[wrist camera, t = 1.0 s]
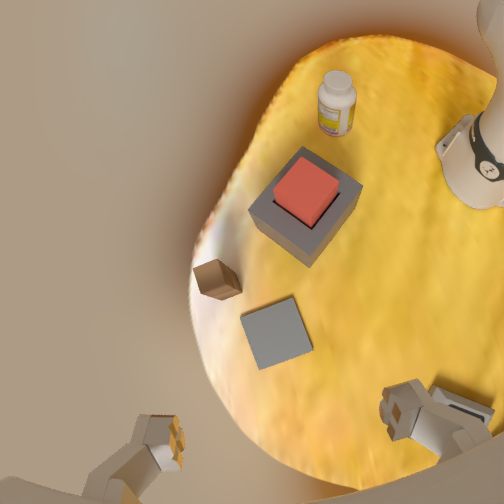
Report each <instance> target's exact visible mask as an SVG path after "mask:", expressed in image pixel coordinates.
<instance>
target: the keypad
mask: <svg viewBox="0 0 504 504" xmlns="http://www.w3.org/2000/svg"><path fill="white" fill-rule="evenodd" d="M428 393H429V394H430V396H431V397H432V399H433V400H434V402H440V403H443V404H445V405H447V406H450V407H452V408H454V409H457V410H459V411H462V412H464V413H466V414H469V415H471V416H474V417H476V418H479V419H481V421H482V422H483V423H484V425H485V426H486V427H487V426H488V424H489V422H490V420H491V418H492V416H493V414H494V412H495V410H494V409H492V408H489V407H487V406H484V405H481V404H479V403H476V402H474V401H471V400H469V399H466V398H464V397H461V396H459V395H457V394H454V393H452V392H449V391H447V390H444V389H442V388H440V387H437V386H435V385H433V384H432V386H431V388H430V390H429V392H428ZM408 438H410V439H413V438H411V436H410V437H408ZM413 440H414V439H413ZM415 441H416V440H415Z"/></svg>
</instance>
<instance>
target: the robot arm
mask: <svg viewBox="0 0 504 504" xmlns="http://www.w3.org/2000/svg"><path fill="white" fill-rule="evenodd" d="M476 17H477V25H478V29H479V32H480V35H481V37H482V40H483V41H484V43H485V44H486V46H487V48H488V49H489V51H490V53H491V55H492V58H493V61H494V64H495V68H496V73H497V84H496V89H495V92H494V94H493V96H492V98H491V100H490V102H489V104H488V106H487V108H486V109H485V111H483V112H479V113H478V114H477V115H476V116H473V115H469V114H468V115H466V116H465V115H464V117H463V118H462V119H461V121H460V122H459V123H458V124H457V125H456V126H455V127H454V128H453V129H452V130H451V131H450V132H449V133H448V134H447V135H446V136H445V137H444V138H443V139H442V140H441V141H440V142H439V143H438V144H437V145H436V147H435V150H436V153H437V155H438V156H439V158H440V160H441V163H442V169H443V174H444V177H445V180H446V182H447V184H448V186H449V187H450V189H451V191H452V192H453V193H454V194H455V195H456V197H457V198H458V199H460V200H461V201H462V202H463V203H465V204H466V205H468V206H470V207H472V208H475V209H488V208H491V207H493V206H498V207H504V0H480V1H479V4H478V7H477V15H476ZM443 145H444V146H445V147H444V146H443ZM382 396H383V398H384V399H383V400H382V401H381V402H380V406H379V412H380V417H381V420H382V422H383V423H384V424H386V425H388V427H387V432H388V434H389V436H390V438H391V440H392V442H393V441H396V440H400V439H403V438H406V437H410V436H411V438H413V439H414V440H416V441H417V442H419V443H420V444H422V445H423V446H425V447H426V448H428V449H429V450H431V451H432V452H434V453H436V454H437V455H439V456H440V459H439V461H438V462H437V464H436V465H435V466H433V467H430V468H428V469H425V470H423V471H420V472H417V473H415V474H412V475H409V476H406V477H403V478H401V479H398V480H395V481H392V482H388V483H385V484H382V485H379V486H375V487H372V488H368V489H365V490H361V491H357V492H353V493H350V494H345V495H341V496H336V497H331V498H327V499H322V500H317V501H311V502H305V503H299V504H504V431H503V432H502V433H500V434H498V435H496V436H495V437H493V436H492V434H491V433H490V432H489V430H488V429H487V427H486V426H485V425H484V423H483V422H482V421H481V419H479V418H476V417H474V416H471V415H469V414H466V413H464V412H462V411H459V410H457V409H454V408H452V407H450V406H447V405H445V404H443V403H440V402H434V400H433V399H432V397H431V396H430V394H429V393H428V392H427V390H426V389H425V387H424V386H423V385H422V383H421V382H420V381H419V379H414V380H410V381H407V382H403V383H400V384H396V385H392V386H389V387H385V388H384V389H383V392H382ZM184 447H185V438H184V433H183V430H182V428H181V427H179V420H178V417H177V416H176V415H142V414H140V415H139V416H138V418H137V421H136V425H135V428H134V431H133V435H132V438H131V442H130V444H126V445H125V446H123V447H122V448H121V449H119V450H118V451H117V452H116V453H114V454H113V455H112V456H111V457H110V458H108V459H107V460H106V461H105V462H103V463H102V464H101V465H99V466H98V467H97V468H96V469H94V470H93V471H92V472H91V473H89V475H88V478H87V481H86V484H85V487H84V490H83V493H82V496H78V495H73V494H69V493H65V492H62V491H58V490H54V489H51V488H47V487H44V486H41V485H37V484H35V483H32V482H29V481H26V480H23V479H20V478H18V477H14V476H8V477H6V478H3V479H1V480H0V504H142V503H141V502H140V501H139V500H138V498H139V497H140V496H141V494H142V493H143V492H144V491H145V490H146V489H147V487H148V486H149V485H150V484H151V483H152V482H153V481H154V480H155V478H156V477H157V476H158V475H159V474H160V473H161V471H181V470H182V463H183V457H182V455H181V452H182V451H183V450H184Z"/></svg>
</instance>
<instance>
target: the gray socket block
mask: <svg viewBox="0 0 504 504" xmlns="http://www.w3.org/2000/svg"><path fill="white" fill-rule="evenodd" d="M300 157H303V158H305V159H306V160H308V161H309V162H311V163H313V164H314V165H316V166H317V167H319V168H320V169H322V170H323V171H325V172H326V173H328V174H329V175H331V176H332V177H334V178H335V179H337V180H338V181H339V186H338V191H337V196H336V197H335V199H334V200H333V201H332V202H331V204H330V205H329V206H328V208H327V209H326V210H325V211H324V213H323V214H322V215H321V217H320V218H319V219H318V220H317V222H316V223H315V224H314V226H313V227H312V228H310V227H308V226H307V225H306V224H304V223H303V222H301V221H300V220H299V219H297V218H296V217H295V216H293V215H292V214H290V213H289V212H288V211H286V210H285V209H283V208H282V207H280V206H279V205H278V204H277V203H276V200H275V196H274V192H273V189H274V188H275V187H276V185H277V184H278V183H279V182H280V181H281V179H282V178H283V177H284V176H285V175H286V174H287V172H288V171H289V170H290V169H291V168H292V167H293V165H294V164H295V163H296V162H297V161H298V160H299V158H300ZM362 188H363V185H361V184H360V183H359V182H357V181H356V180H354V179H353V178H351V177H350V176H348V175H347V174H345V173H344V172H342V171H341V170H339V169H338V168H336V167H335V166H333V165H332V164H330V163H329V162H327V161H325V160H324V159H322V158H321V157H319V156H318V155H316V154H314V153H313V152H311V151H309V150H308V149H306V148H305V147H303V146H302V147H301V148H300V149H299V151H298V152H297V153H296V154H295V155H294V156H293V157H292V159H291V160H290V161H289V162H288V163H287V164H286V166H285V167H284V168H283V169H282V170H281V171H280V172H279V174H278V175H277V176H276V177H275V178H274V179H273V181H272V182H271V183H270V184H269V185H268V187H267V188H266V189H265V190H264V191H263V192H262V194H261V195H260V196H259V197H258V198H257V199H256V201H255V202H254V203H253V204H252V205H251V207H250V208H249V209H248V211H249V213H250V215H251V217H252V219H253V221H254V223H255V225H256V227H257V229H259V230H260V231H261V232H263V233H264V234H265V235H267V236H268V237H269V238H271V239H272V240H273V241H274V242H276V243H277V244H278V245H280V246H281V247H282V248H284V249H285V250H286V251H288V252H289V253H290V254H292V255H293V256H294V257H296V258H297V259H298V260H299V261H301V262H302V263H303V264H305V265H306V266H307V267H309V268H310V267H311V266H312V264H313V263H314V262H315V261H316V259H317V258H318V257H319V255H320V254H321V253H322V252H323V250H324V249H325V248H326V246H327V245H328V244H329V242H330V241H331V240H332V238H333V237H334V236H335V234H336V233H337V232H338V230H339V229H340V228H341V226H342V225H343V224H344V222H345V221H346V220H347V218H348V217H349V216H350V214H351V213H352V212H353V210H354V209H355V207H356V204H357V202H358V199H359V196H360V194H361V191H362Z"/></svg>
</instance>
